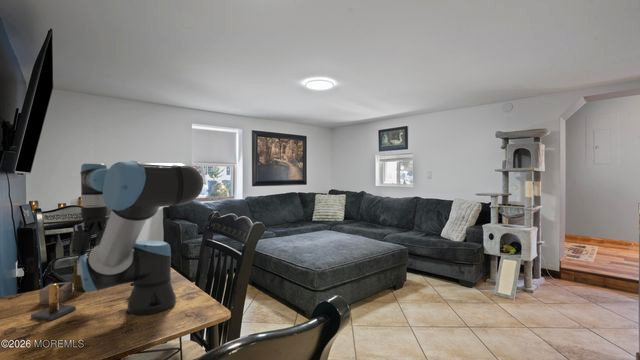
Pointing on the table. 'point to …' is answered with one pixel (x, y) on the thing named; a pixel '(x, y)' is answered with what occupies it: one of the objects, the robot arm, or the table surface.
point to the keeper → (53, 306)
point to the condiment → (77, 280)
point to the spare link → (64, 292)
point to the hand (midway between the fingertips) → (94, 268)
